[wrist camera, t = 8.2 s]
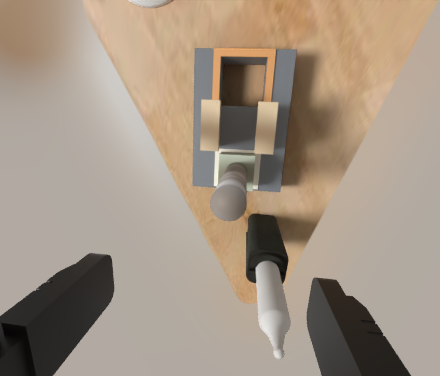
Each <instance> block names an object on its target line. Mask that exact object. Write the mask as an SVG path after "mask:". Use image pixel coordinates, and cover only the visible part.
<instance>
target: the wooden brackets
mask: <svg viewBox="0 0 440 376" xmlns="http://www.w3.org/2000/svg"><path fill="white" fill-rule="evenodd" d="M277 112H278V102H258V113H257V125H256V137H255V149H254V153H255V154H272V155H273V151H274V141H275V131H276V122H277ZM220 116H221V100H201V139H200V150H202V151H219V139H220Z"/></svg>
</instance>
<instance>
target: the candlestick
mask: <svg viewBox="0 0 440 376" xmlns="http://www.w3.org/2000/svg"><path fill="white" fill-rule="evenodd" d="M128 1H129V2H131V3H133V4H135V5H137V6H139V7H143V8H157V7H161V6H163V5H165V4H167V3H169V2H170V1H172V0H128Z"/></svg>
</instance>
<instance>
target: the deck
mask: <svg viewBox="0 0 440 376" xmlns="http://www.w3.org/2000/svg"><path fill="white" fill-rule="evenodd" d="M296 51H297V50H291V49H251V48H195V64H194V128H193V186H201V187H215V188H216V187H217V185H218V170H219V154H220V153H221V152H238V153H254V149H255V137H256V125H257V113H258V107H245V106H222V90H223V68H224V64H239V65H266V66H265V77H264V89H263V101H262V102H278V112H277V122H276V131H275V141H274V151H273V155H272V154H255V167H254V179H253V190H256V191H270V192H280V190H281V181H282V172H283V164H284V155H285V146H286V138H287V129H288V120H289V112H290V103H291V94H292V86H293V77H294V69H295V60H296ZM201 100H221V116H220V139H219V151H202V150H200V139H201Z"/></svg>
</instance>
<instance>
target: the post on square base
mask: <svg viewBox="0 0 440 376" xmlns="http://www.w3.org/2000/svg"><path fill="white" fill-rule="evenodd" d="M254 167H255V153H238V152H221V153H220V154H219V170H218V185H217V187H216V189H215V191H214V193H213V195H212V197H211V200H210V207H211V210H212V212H213V213H214V215H215V216H216V217H218V218H219V219H221V220H224V221H234V220H237V219H238V218H240V217H241V216H242V215H243V214H244V212H245V210H246V196H247V191H253V179H254Z"/></svg>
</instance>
